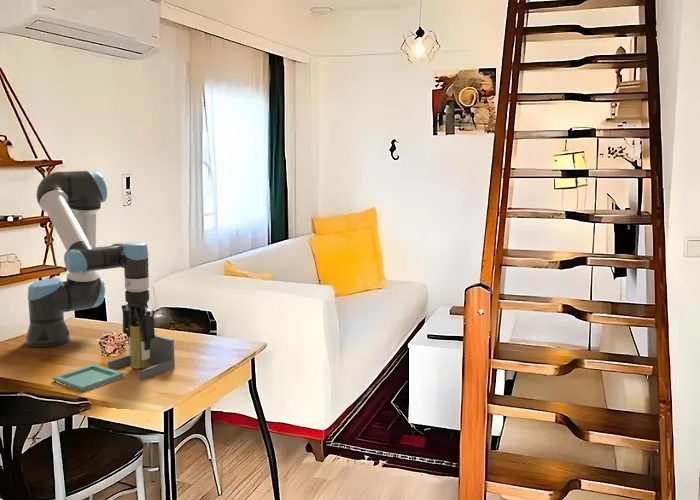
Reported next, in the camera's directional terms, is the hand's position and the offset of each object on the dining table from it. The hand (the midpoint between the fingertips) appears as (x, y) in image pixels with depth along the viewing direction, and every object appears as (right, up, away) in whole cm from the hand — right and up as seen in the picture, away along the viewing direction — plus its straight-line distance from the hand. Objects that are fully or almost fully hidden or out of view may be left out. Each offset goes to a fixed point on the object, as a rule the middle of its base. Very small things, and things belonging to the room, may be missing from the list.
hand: (139, 356), depth 219 cm
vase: (0, -3, +1) cm, 3 cm away
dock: (0, -4, 0) cm, 4 cm away
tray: (-13, -6, -9) cm, 17 cm away
